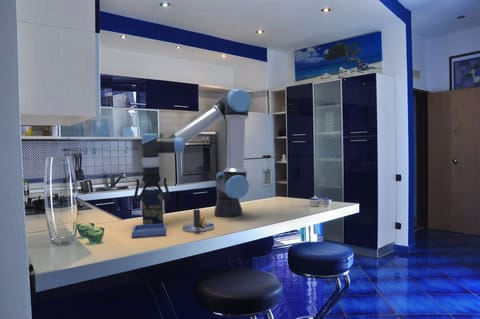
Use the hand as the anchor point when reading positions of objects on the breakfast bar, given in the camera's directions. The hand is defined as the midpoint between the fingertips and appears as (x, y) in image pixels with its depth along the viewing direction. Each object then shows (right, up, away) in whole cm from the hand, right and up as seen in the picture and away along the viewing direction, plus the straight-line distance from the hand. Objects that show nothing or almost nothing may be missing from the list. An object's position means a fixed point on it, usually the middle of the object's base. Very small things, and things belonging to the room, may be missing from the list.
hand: (152, 214), depth 175 cm
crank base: (+23, -5, -10) cm, 25 cm away
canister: (0, -6, 0) cm, 6 cm away
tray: (+2, -6, -16) cm, 17 cm away
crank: (+23, -4, -14) cm, 27 cm away
